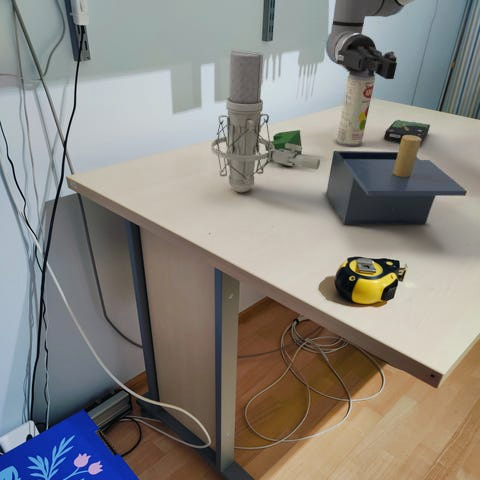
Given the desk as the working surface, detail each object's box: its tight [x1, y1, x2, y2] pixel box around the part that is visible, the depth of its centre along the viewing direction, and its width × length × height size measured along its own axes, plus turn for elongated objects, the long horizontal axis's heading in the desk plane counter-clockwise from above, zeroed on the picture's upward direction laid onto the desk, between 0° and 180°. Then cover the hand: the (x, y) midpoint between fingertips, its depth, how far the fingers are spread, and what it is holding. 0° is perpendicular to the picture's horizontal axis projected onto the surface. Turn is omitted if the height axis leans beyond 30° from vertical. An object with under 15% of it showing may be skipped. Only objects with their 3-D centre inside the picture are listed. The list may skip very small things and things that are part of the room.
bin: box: [325, 150, 436, 226], centre depth 82 cm, size 16×14×9 cm
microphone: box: [210, 49, 321, 193], centre depth 80 cm, size 12×22×25 cm, turn 61°
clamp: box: [264, 129, 303, 167], centre depth 103 cm, size 12×6×9 cm, turn 153°
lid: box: [343, 135, 468, 197], centre depth 71 cm, size 16×14×7 cm
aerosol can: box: [336, 70, 376, 148], centre depth 111 cm, size 7×7×20 cm
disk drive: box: [383, 119, 431, 146], centre depth 123 cm, size 10×3×15 cm
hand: (391, 71), depth 81 cm, fingers closed
